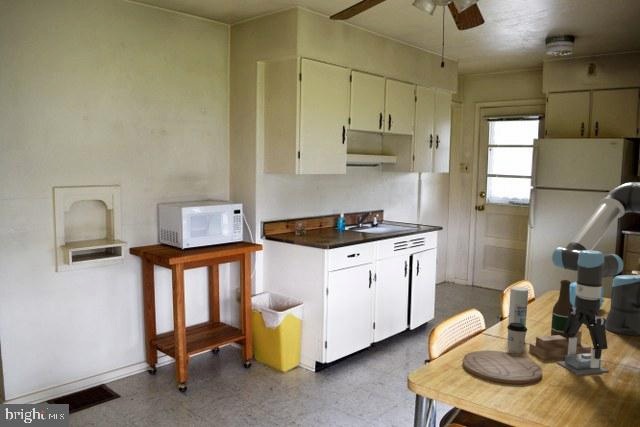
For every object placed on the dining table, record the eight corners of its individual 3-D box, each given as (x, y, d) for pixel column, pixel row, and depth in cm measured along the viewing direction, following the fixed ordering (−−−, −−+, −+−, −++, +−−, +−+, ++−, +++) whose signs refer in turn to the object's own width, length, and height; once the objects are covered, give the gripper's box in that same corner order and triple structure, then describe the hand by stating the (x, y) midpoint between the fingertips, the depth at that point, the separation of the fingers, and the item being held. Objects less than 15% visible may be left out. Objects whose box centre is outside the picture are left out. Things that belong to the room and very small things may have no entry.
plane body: (574, 347, 193) (576, 326, 192) (590, 354, 186) (592, 333, 185) (529, 351, 188) (530, 329, 187) (544, 359, 180) (545, 337, 179)
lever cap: (586, 361, 178) (587, 351, 177) (600, 368, 172) (601, 357, 172) (564, 363, 175) (565, 352, 175) (577, 370, 170) (578, 359, 169)
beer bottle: (574, 345, 195) (579, 283, 193) (552, 343, 197) (557, 282, 195) (569, 338, 203) (573, 279, 201) (548, 336, 205) (552, 277, 202)
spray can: (517, 335, 206) (520, 286, 204) (528, 340, 199) (532, 290, 197) (503, 336, 204) (506, 287, 202) (514, 341, 197) (518, 291, 195)
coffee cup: (525, 349, 190) (527, 323, 189) (526, 355, 183) (528, 328, 182) (505, 346, 192) (507, 320, 191) (505, 353, 185) (507, 326, 184)
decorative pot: (572, 302, 259) (574, 275, 257) (606, 309, 247) (609, 281, 245) (558, 307, 248) (559, 279, 247) (593, 315, 236) (595, 286, 235)
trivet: (513, 353, 186) (513, 348, 186) (559, 383, 162) (559, 377, 161) (449, 357, 181) (449, 352, 180) (487, 388, 156) (487, 382, 156)
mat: (585, 360, 180) (585, 359, 180) (608, 371, 171) (608, 370, 171) (556, 363, 177) (557, 361, 177) (578, 375, 167) (578, 373, 167)
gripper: (555, 289, 181) (550, 350, 183) (605, 306, 160) (599, 375, 162) (572, 288, 183) (568, 349, 185) (624, 305, 162) (618, 373, 164)
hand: (582, 361), depth 174 cm, fingers open, 9 cm apart
